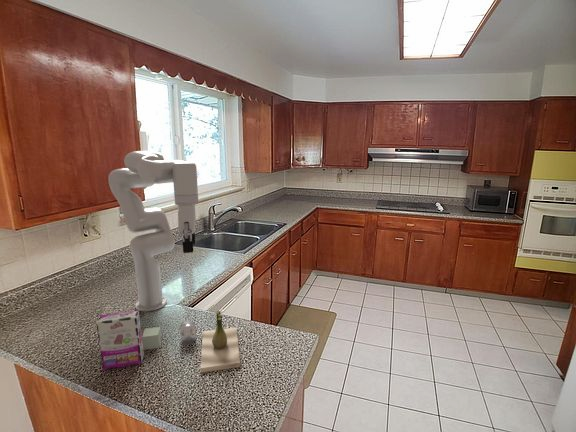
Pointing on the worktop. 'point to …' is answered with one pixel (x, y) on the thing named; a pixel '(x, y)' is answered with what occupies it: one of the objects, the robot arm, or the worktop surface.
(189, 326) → the glass globe
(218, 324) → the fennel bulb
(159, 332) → the sage cube
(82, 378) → the worktop surface
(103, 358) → the candy bar box
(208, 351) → the birch board
